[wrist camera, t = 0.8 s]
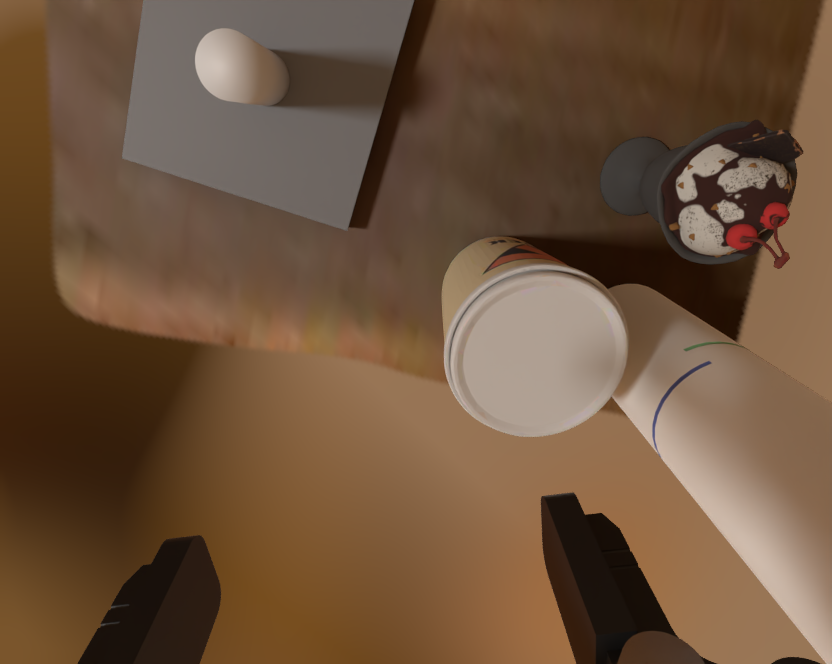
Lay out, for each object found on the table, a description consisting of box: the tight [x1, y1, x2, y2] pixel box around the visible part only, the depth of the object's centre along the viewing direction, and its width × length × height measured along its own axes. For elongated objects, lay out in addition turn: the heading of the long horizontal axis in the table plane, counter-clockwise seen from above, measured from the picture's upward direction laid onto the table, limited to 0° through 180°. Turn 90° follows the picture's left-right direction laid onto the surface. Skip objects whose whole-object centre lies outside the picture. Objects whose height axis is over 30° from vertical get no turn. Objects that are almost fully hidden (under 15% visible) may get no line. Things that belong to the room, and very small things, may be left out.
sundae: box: [600, 120, 803, 269], centre depth 28 cm, size 7×7×15 cm
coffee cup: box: [442, 236, 629, 437], centre depth 32 cm, size 9×9×12 cm
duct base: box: [122, 0, 414, 231], centre depth 28 cm, size 14×14×8 cm
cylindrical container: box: [608, 284, 832, 664], centre depth 27 cm, size 7×7×25 cm
